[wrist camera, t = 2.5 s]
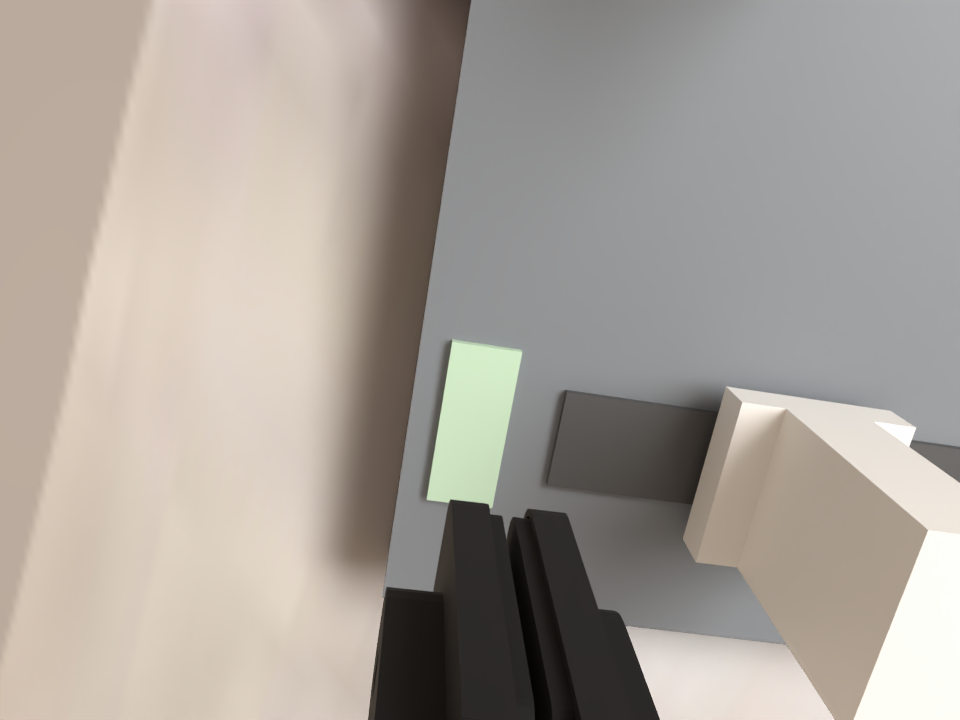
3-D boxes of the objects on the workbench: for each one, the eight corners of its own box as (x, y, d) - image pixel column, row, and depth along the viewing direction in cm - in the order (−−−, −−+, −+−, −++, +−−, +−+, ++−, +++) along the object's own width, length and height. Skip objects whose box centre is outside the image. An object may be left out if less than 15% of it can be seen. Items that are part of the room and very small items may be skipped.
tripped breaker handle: (837, 558, 19) (1011, 755, 13) (682, 539, 18) (790, 731, 12) (890, 410, 17) (1107, 554, 12) (725, 386, 17) (866, 521, 11)
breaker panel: (985, 626, 22) (1040, 679, 20) (388, 553, 21) (381, 602, 19) (1414, -351, 15) (1568, -426, 13) (556, -577, 14) (576, -702, 12)
